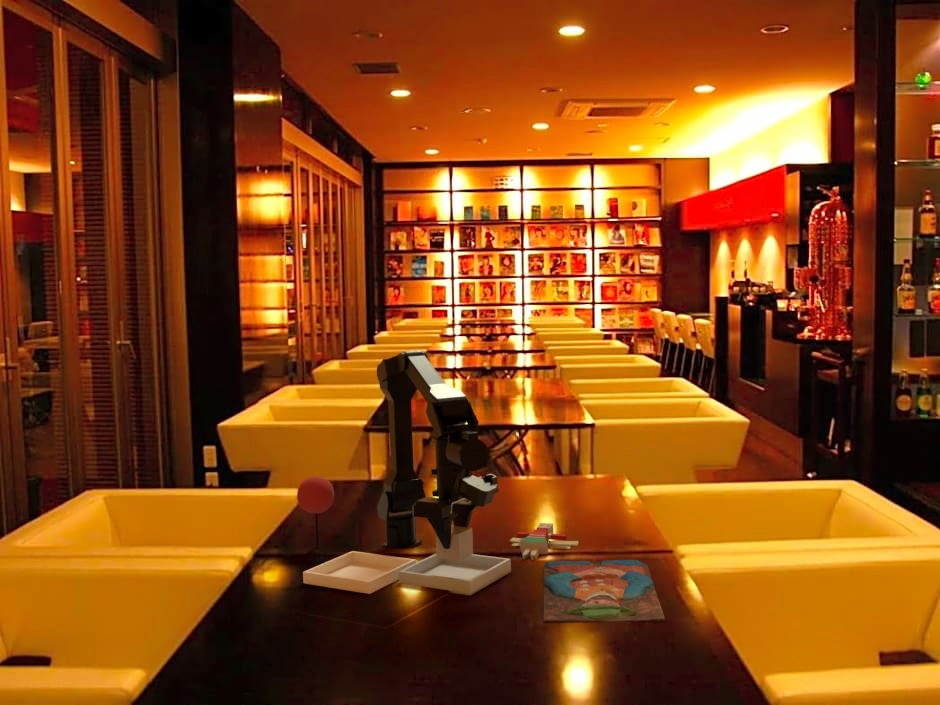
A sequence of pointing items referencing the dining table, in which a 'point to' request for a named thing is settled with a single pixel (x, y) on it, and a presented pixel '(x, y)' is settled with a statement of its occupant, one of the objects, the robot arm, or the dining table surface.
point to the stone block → (456, 544)
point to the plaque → (600, 592)
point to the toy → (540, 541)
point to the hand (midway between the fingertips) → (454, 544)
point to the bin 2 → (456, 573)
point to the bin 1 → (357, 572)
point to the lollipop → (315, 497)
